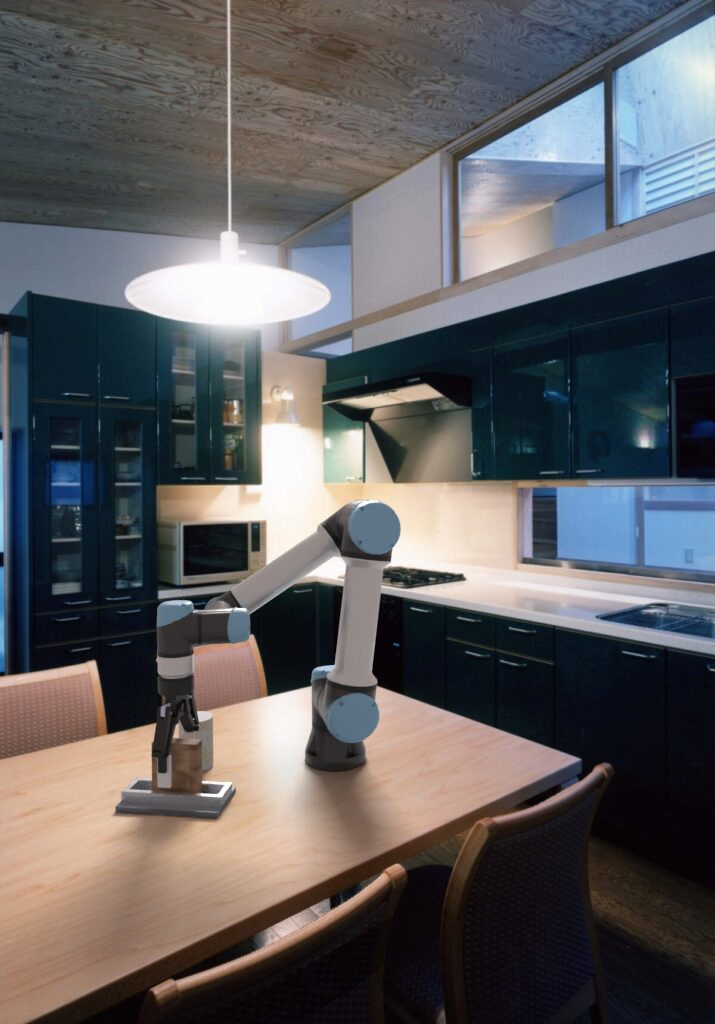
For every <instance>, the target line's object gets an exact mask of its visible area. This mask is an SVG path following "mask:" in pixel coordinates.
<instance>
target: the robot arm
mask: <svg viewBox="0 0 715 1024" xmlns="http://www.w3.org/2000/svg"><path fill="white" fill-rule="evenodd" d="M401 529H402V528H401V521H400V518H399V516H398V514H397V513H396V511H395V510H394V509H393V507H391V506H390V505H388V504H386V503H384V502H382V501H380V500H375V499H359V500H358V499H357V500H352V501H350V502H347V503H346V504H344V505H343V506H342V507H341V508H339V509H338V510H337V511H335V512H334V513H333V514H331V515H330V516H329V517H328V518H326V519H325V520H323V521H322V522H320V523H319V524H317V528H316V531H315V532H313V533H312V534H310V535H309V536H306V537H305V538H304V539H302V540H301V541H300V542H299V543H297V544H295V545H294V546H293V547H291V548H289V549H288V550H286V551H285V552H283V553H282V554H281V555H279V556H277V558H275V559H273V560H272V561H270V562H269V563H268V564H266V565H264V566H263V567H262V568H260V569H259V570H257V571H256V572H254V573H252V574H251V575H249V577H247V578H245V579H244V580H242V581H241V582H239V583H238V584H237V585H235V586H234V587H232V588H231V589H229V590H228V591H226V592H225V593H223V594H222V595H220V596H217V597H214V598H212V599H210V600H209V601H208V602H207V603H206V604H205V606H204V609H195V607H194V603H193V602H192V601H191V600H185V599H182V600H179V599H176V600H167V601H163V602H161V603H160V604H159V605H158V606H157V608H156V609H157V613H156V614H157V616H156V642H157V643H156V646H157V649H156V651H157V657H156V659H155V662H156V663H157V673H158V677H157V693H158V694H159V695H160V696H162V697H164V698H165V699H164V703H163V705H158V706H157V710H156V723H155V729H154V735H153V741H152V742H153V748H152V747H151V754H150V755H151V758H152V757H157V784H158V787H162V788H171V787H172V774H171V755H169V752H170V748H171V744H172V740H173V738H174V735H175V730H176V726H177V725H179V720H180V722H181V724H182V727H183V729H184V731H186V732H182V738H184V739H195V732H194V731H199V726H196V725H198V724H199V719H198V714H197V711H198V709H197V705H196V701H195V691H194V690H195V674H194V673H193V672H194V671H195V652H194V651H195V648H194V647H195V646H202V645H203V646H207V645H225V644H232V645H235V644H239V643H246V642H248V641H249V640H250V637H251V617H250V616H251V614H252V613H253V612H255V611H256V610H259V609H260V608H261V607H263V606H264V605H265V604H267V603H268V602H271V600H273V599H274V598H276V597H277V596H279V595H281V593H283V592H285V591H286V590H287V589H289V588H290V587H292V586H294V584H296V583H298V582H300V580H302V579H303V578H305V577H306V576H309V574H310V573H312V572H313V571H315V570H317V569H318V568H319V567H321V566H322V565H323V564H326V562H328V561H329V560H331V559H332V558H334V557H336V558H341V559H342V561H343V562H344V563H345V572H344V582H343V590H342V599H341V608H340V616H339V624H338V633H337V643H336V652H335V658H334V659H335V661H334V664H333V665H332V664H331V665H322V666H317V667H315V668H313V670H312V672H311V679H310V683H311V731H310V733H309V737H308V740H307V743H306V746H305V749H304V760H305V763H306V764H307V765H308V766H310V767H312V768H315V769H318V770H321V771H329V772H331V771H332V772H333V771H335V772H336V771H337V772H338V771H339V772H340V771H347V770H351V769H354V768H357V767H359V766H361V765H363V764H364V763H365V761H366V758H367V753H366V752H367V751H366V750H367V749H366V746H365V743H364V740H367V738H369V737H370V736H371V735H373V733H374V732H375V730H376V729H377V727H378V725H379V722H380V709H379V706H378V703H377V702H376V698H377V697H376V696H377V688H378V679H377V677H376V676H375V675H374V674H373V672H372V671H373V664H374V663H373V662H374V656H375V655H374V654H375V646H376V637H377V628H378V622H379V621H378V620H379V612H380V602H381V594H382V593H381V592H382V586H383V576H384V569H385V568H386V567H388V565H390V564H391V562H392V556H393V548H394V547H395V546H396V545H397V543H398V541H399V539H400V536H401V531H402V530H401ZM193 719H194V720H193Z"/></svg>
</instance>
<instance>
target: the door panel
mask: <svg viewBox="0 0 715 1024" xmlns="http://www.w3.org/2000/svg"><path fill="white" fill-rule="evenodd" d="M150 745H151V749H152V748H153V741H151V744H150ZM169 755H171V774H172V787H171V788H162V787H158V784H157V757H152V756H151V778H152V791H168V792H186V793H202V781H203V771H202V739H184V738H179V737H173V740H172V744H171V748H170V752H169Z"/></svg>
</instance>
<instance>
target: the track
mask: <svg viewBox="0 0 715 1024" xmlns="http://www.w3.org/2000/svg"><path fill="white" fill-rule="evenodd" d="M236 792H237V787H236V786H235V785H233V782H228V781H227V782H226V781H225V782H224V781H208V780H205V781H204V780H202V793H186V792H168V791H152V777H135V778H134V779H133V780H132V781H130V783H129V784H128V785H126V786H125V787H124V788H123V789H122V790H121V791H120V796H121V797H120V799H121V800H120V802H119V803H118V804H116V805H115V811H114V812H115V813H120V814H123V813H124V814H139V815H153V816H168V817H169V816H170V817H187V818H202V819H203V818H204V819H215V820H216V819H219V817H220V815H222V813H223V811H224V810H225V808H226V807H227V806H228V805H229V803H230V801H231V800H232V798H233V797H234V795H235V794H236Z"/></svg>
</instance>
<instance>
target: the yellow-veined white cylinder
mask: <svg viewBox="0 0 715 1024" xmlns="http://www.w3.org/2000/svg"><path fill="white" fill-rule="evenodd" d="M197 714H198V719H199V724H198V725H196V726H199V731H194V732H195V739H202V772H205V771H208V770H210V769H211V768H213V766H214V714H213V713H212V712H210V711H205V710H197ZM193 720H194V719H193ZM182 732H186V731H184V729H183V727H182V724H181V722H180V720H179V723H178V738H182Z"/></svg>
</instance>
